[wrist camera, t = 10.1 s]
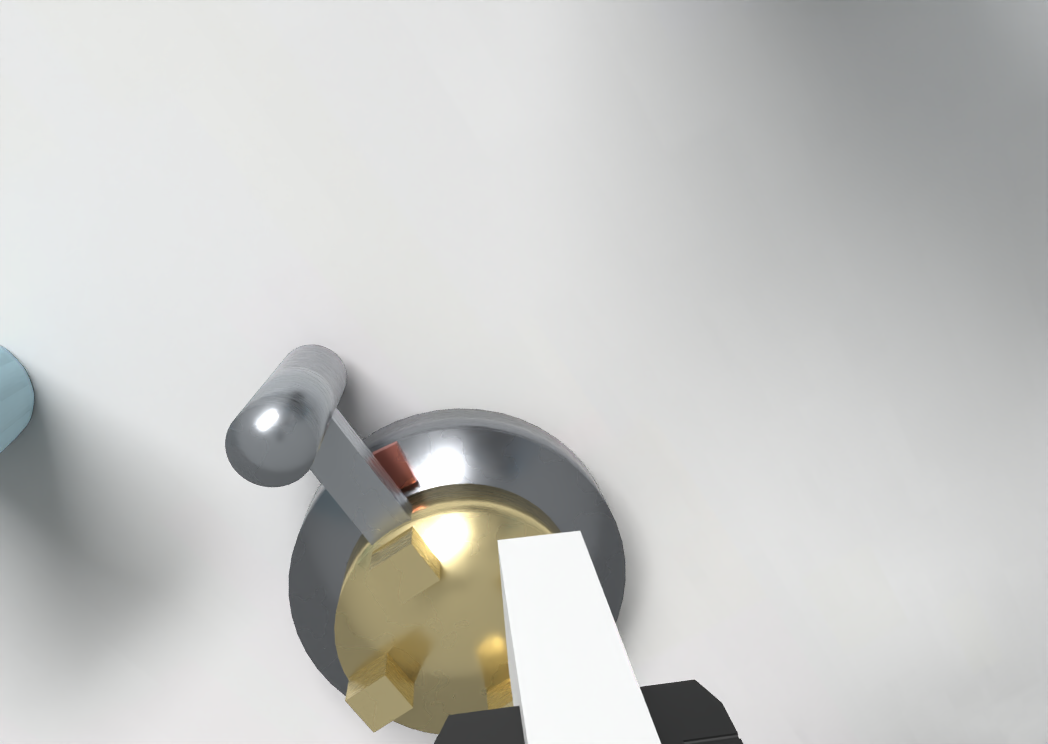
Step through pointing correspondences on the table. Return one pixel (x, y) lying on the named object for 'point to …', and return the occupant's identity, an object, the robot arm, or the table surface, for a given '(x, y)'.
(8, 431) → the cup
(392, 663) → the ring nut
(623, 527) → the table surface
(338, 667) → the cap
